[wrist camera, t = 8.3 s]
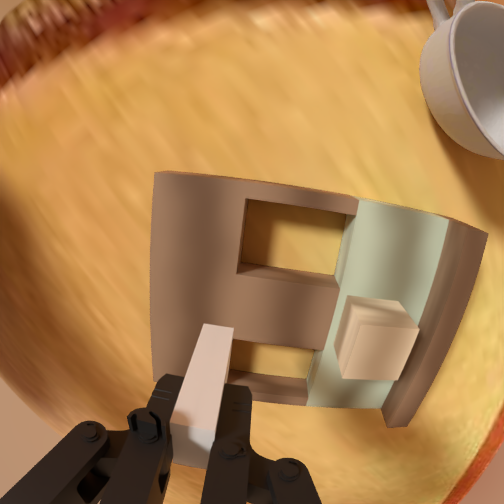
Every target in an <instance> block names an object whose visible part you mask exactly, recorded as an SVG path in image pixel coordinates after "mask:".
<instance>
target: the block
mask: <svg viewBox="0 0 504 504" xmlns="http://www.w3.org/2000/svg"><path fill="white" fill-rule="evenodd" d="M419 330H420V329H419V328H418V326H417V325H416V324H415V322H414V321H413V320H412V318H411V317H410V316H409V314H408V313H407V312H406V310H405V309H404V308H403V306H402V305H401V304H400V303H399V301H392V300H384V299H375V298H367V297H359V296H351V295H347V297H346V301H345V305H344V309H343V312H342V316H341V319H340V323H339V326H338V330H337V333H336V336H335V340H334V343H333V345H334V349H335V353H336V356H337V360H338V364H339V368H340V372H341V375H342V379H362V380H398V378H399V376H400V374H401V372H402V370H403V368H404V365H405V363H406V361H407V359H408V356H409V354H410V352H411V349H412V347H413V345H414V342H415V340H416V337H417V335H418V332H419Z"/></svg>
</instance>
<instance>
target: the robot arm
mask: <svg viewBox="0 0 504 504" xmlns="http://www.w3.org/2000/svg"><path fill="white" fill-rule="evenodd" d="M233 332H234V328H230V327H224V326H217V325H211V324H203V327H202V330H201V333H200V336H199V338H198V341H197V344H196V347H195V350H194V353H193V355H192V358H191V361H190V364H189V367H188V370H187V373H186V375H185V377H182V376H177V375H172V374H167V373H166V374H165V375H164V376H162V377H161V378H160V379H159V380H158V382H157V384H156V386H155V389H154V391H153V393H152V396H151V398H150V400H149V402H148V404H147V407H146V408H139V409H135V410H134V411H132V412H130V414H129V415H128V416H127V419H128V424H129V428H130V429H129V430H125V431H111V430H106V428H105V427H104V426H103V425H102V424H100V423H98V422H95V421H85V422H81V423H80V424H78V425H77V426H75V427H74V428H73V429H72V430H71V431H70V432H69V433H68V434H67V435H66V436H65V437H64V438H63V439H62V440H61V441H60V442H59V443H58V444H57V445H56V446H55V447H54V448H53V449H52V450H51V451H50V452H49V453H48V454H47V455H45V456H44V458H42V459H41V460H40V461H39V462H38V463H37V464H36V465H35V466H34V467H33V468H32V469H31V470H30V471H29V472H28V473H27V474H26V475H25V476H24V477H23V478H22V479H21V480H19V482H17V483H16V485H14V486H13V487H12V488H11V489H10V490H9V491H8V492H7V493H6V494H5V495H4V496H3V497H2V498H1V499H0V504H97V503H98V502H99V501H100V500H101V501H100V504H163V500H164V497H165V493H166V489H167V486H168V482H169V478H170V466H171V462H172V459H173V463H176V464H180V465H185V466H190V467H196V468H201V469H207V471H206V476H205V482H204V487H203V492H202V498H201V503H200V504H246V501H247V502H249V503H252V504H322V503H321V500H320V498H319V496H318V493H317V491H316V488H315V486H314V483H313V481H312V478H311V476H310V474H309V471H308V469H307V467H306V466H305V465H304V464H303V463H302V462H300V461H299V460H296V459H293V458H282V459H279V460H276V461H273V460H270V459H267V458H264V457H262V456H260V455H258V454H257V453H256V452H255V451H254V450H253V449H252V447H251V445H250V425H251V411H252V396H253V395H252V393H251V391H250V389H249V387H248V386H242V385H235V384H228V383H227V378H228V372H229V365H230V357H231V348H232V340H233Z"/></svg>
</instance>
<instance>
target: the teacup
mask: <svg viewBox="0 0 504 504" xmlns="http://www.w3.org/2000/svg"><path fill="white" fill-rule="evenodd" d="M427 3H428V6H429V9H430V11H431V14H432V17H433V27H434V30H435V31H434V33H433V34H432V35H431V36H430V37H429V38H428V40H427V42H426V44H425V45H424V48H423V50H422V54H421V58H420V68H419V72H420V83H421V87H422V91H423V95H424V98H425V100H426V103H427V105H428V107H429V109H430V111H431V113H432V115H433V117H434V118H435V120H436V121H437V123H438V124H439V126H440V127H441V128H442V129H443V130H444V132H445V133H446V134H447V135H448V136H449V137H450V138H451V139H453V140H454V141H455V142H456V143H458V144H459V145H460V146H462V147H464V148H465V149H467V150H469V151H471V152H473V153H476V154H479V155H481V156H486V157H490V158H495V159H500V160H504V6H502V5H499V4H496V3H493V2H487V1H476V2H475V0H456V6H455V8H454V10H453V17H451V18H450V17H449V14H448V11H447V9H446V6H445V3H444V0H427Z"/></svg>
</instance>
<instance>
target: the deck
mask: <svg viewBox="0 0 504 504" xmlns="http://www.w3.org/2000/svg"><path fill="white" fill-rule="evenodd" d="M248 199H255V200H262V201H269V202H276V203H283V204H290V205H296V206H302V207H309V208H315V209H321V210H327V211H333V212H339V213H345V214H347V215H346V221H345V226H344V231H343V236H342V241H341V246H340V251H339V255H338V260H337V265H336V269H335V274H334V275H327V274H320V273H313V272H305V271H298V270H291V269H284V268H277V267H270V266H264V265H257V264H250V263H243V262H240V260H241V252H242V244H243V236H244V228H245V220H246V212H247V204H248ZM487 237H488V233H486V232H484V231H482V230H480V229H477V228H475V227H473V226H470V225H468V224H466V223H463V222H461V221H458V220H456V219H454V218H450V217H446V216H442V215H438V214H434V213H430V212H426V211H421V210H417V209H413V208H408V207H404V206H399V205H395V204H390V203H386V202H381V201H376V200H371V199H366V198H361V197H356V196H350V195H345V194H340V193H334V192H328V191H323V190H317V189H311V188H305V187H298V186H292V185H285V184H279V183H272V182H265V181H257V180H250V179H242V178H234V177H225V176H217V175H207V174H198V173H188V172H177V171H162V172H155V175H154V188H153V202H152V220H151V244H150V324H151V349H152V366H153V380H154V382H158V380H159V379H160V378H161V377H162V376H164V375H165V374H166V373H167V374H172V375H177V376H182V377H185V375H186V373H187V370H188V367H189V364H190V361H191V358H192V355H193V353H194V350H195V347H196V344H197V341H198V338H199V336H200V333H201V330H202V327H203V324H211V325H217V326H224V327H230V328H234V332H233V339H238V340H245V341H251V342H258V343H266V344H273V345H281V346H289V347H298V348H307V349H315V352H314V355H313V359H312V362H311V366H310V369H309V373H308V376H307V379H299V378H290V377H281V376H272V375H264V374H257V373H250V372H243V371H236V370H230V369H229V372H228V378H227V383H228V384H235V385H242V386H248V387H249V389H250V391H251V393H252V395H253V396H252V400H253V401H261V402H269V403H278V404H288V405H299V406H313V407H330V408H381V411H382V414H383V417H384V420H385V423H386V426H387V428H394V427H407V426H408V424H409V422H410V421H411V419H412V418H413V416H414V414H415V413H416V411H417V409H418V408H419V406H420V404H421V402H422V401H423V399H424V397H425V395H426V394H427V392H428V390H429V388H430V386H431V384H432V382H433V381H434V379H435V377H436V375H437V373H438V371H439V369H440V367H441V365H442V363H443V361H444V358H445V356H446V354H447V352H448V350H449V348H450V345H451V343H452V341H453V339H454V336H455V334H456V331H457V329H458V327H459V324H460V322H461V319H462V317H463V314H464V311H465V309H466V306H467V303H468V301H469V298H470V295H471V292H472V289H473V286H474V283H475V280H476V277H477V274H478V270H479V267H480V264H481V260H482V257H483V253H484V249H485V245H486V242H487ZM347 295H351V296H359V297H367V298H375V299H384V300H392V301H399V303H400V304H401V305H402V306H403V308H404V309H405V310H406V312H407V313H408V314H409V316H410V317H411V318H412V320H413V321H414V322H415V324H416V325H417V326H418V328H419V329H420V330H419V332H418V335H417V337H416V340H415V342H414V345H413V347H412V349H411V352H410V354H409V356H408V359H407V361H406V363H405V365H404V368H403V370H402V372H401V374H400V376H399V378H398V380H362V379H342V375H341V372H340V368H339V364H338V360H337V356H336V353H335V349H334V345H333V343H334V340H335V336H336V333H337V330H338V326H339V323H340V319H341V316H342V312H343V309H344V305H345V301H346V297H347Z"/></svg>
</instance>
